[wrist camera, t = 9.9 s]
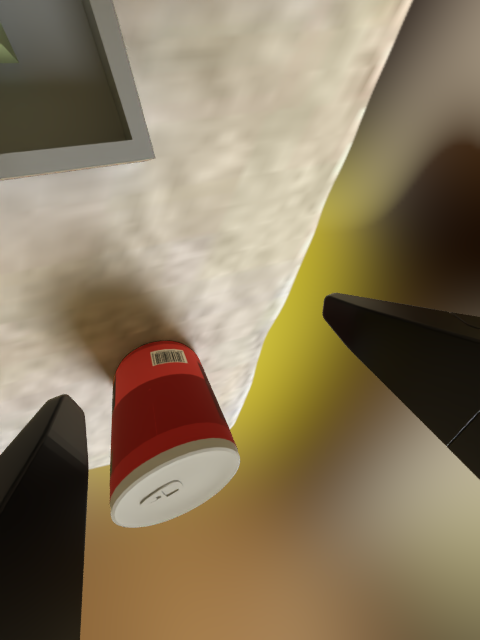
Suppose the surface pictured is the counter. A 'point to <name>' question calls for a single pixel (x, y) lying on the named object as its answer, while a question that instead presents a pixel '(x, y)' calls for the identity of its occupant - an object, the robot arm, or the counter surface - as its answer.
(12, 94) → the grey bin
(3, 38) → the green block
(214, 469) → the canned food
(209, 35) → the counter surface
